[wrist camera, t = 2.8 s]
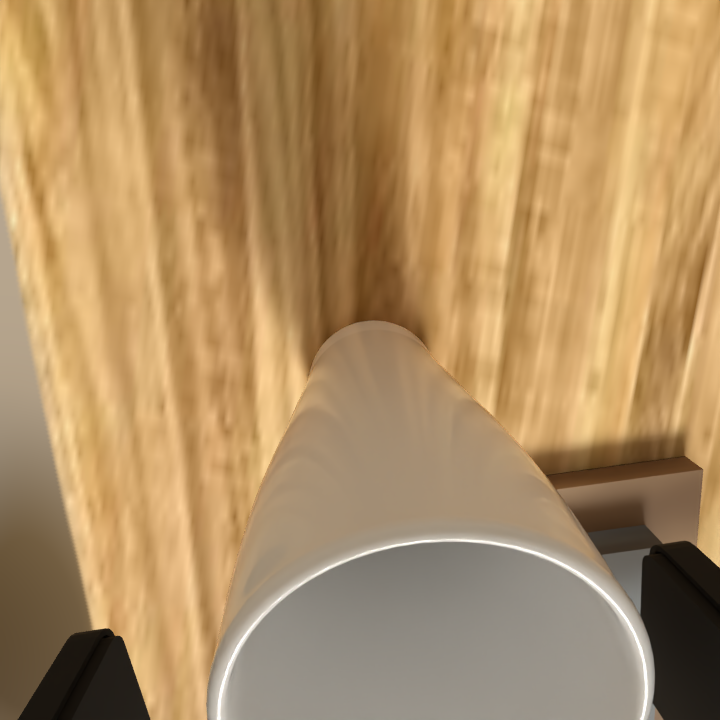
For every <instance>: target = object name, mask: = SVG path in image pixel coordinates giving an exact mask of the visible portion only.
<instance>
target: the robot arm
mask: <svg viewBox="0 0 720 720" xmlns="http://www.w3.org/2000/svg"><path fill="white" fill-rule="evenodd" d="M640 616H641V618H642V620H643V622H644V625H645V628H646V630H647V633H648V635H649V639H650V643H651V647H652V651H653V656H654V666H655V690H654V696H653V704H654V706H655V708H656V709H657V711H658V712H659V714H660V715H661V717H662V718H663V720H720V568H719V567H718V566H717V565H716V564H715V563H713V562H712V561H711V560H710V559H709V558H708V557H707V556H706V555H705V554H704V553H702V552H701V551H700V550H699V549H698V548H697V547H696V546H695V545H693V544H692V543H691V542H688V541H678V542H672V543H665V544H659V545H654V546H652V547H651V549H650V553H649V555H646V556H644V557H643V560H642V580H641V610H640ZM18 720H150V717H149V714H148V711H147V708H146V705H145V702H144V699H143V696H142V693H141V690H140V687H139V684H138V682H137V679H136V676H135V673H134V670H133V667H132V664H131V661H130V658H129V655H128V652H127V649H126V646H125V643H124V641H123V639H122V637H120V636H114V634H113V632H112V631H111V630H110V629H99V630H93V631H86V632H80V633H75V634H73V635H71V636H70V637H69V639H68V640H67V641H66V643H65V644H64V646H63V648H62V649H61V651H60V653H59V654H58V656H57V657H56V659H55V661H54V662H53V664H52V665H51V667H50V669H49V670H48V672H47V673H46V675H45V677H44V678H43V680H42V681H41V683H40V685H39V686H38V688H37V690H36V691H35V693H34V694H33V696H32V698H31V699H30V701H29V702H28V704H27V706H26V707H25V709H24V711H23V712H22V714H21V715H20V717H19V719H18Z"/></svg>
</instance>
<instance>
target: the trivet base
mask: <svg viewBox="0 0 720 720" xmlns="http://www.w3.org/2000/svg"><path fill="white" fill-rule="evenodd" d="M546 477H547V478H548V479H549V480H550V482H551V483H552V484H553V486H554V487H555V488H556V490H557V491H558V493H559V494H560V495H561V497H562V498H563V499H564V501H565V502H566V503H567V505H568V506H569V508H570V509H571V510H572V512H573V513H574V515H575V516H576V518H577V519H578V520H579V522H580V523H581V525H582V526H583V528H584V529H585V530H586V532H587V533H588V535H589V536H590V538H591V539H592V541H593V542H594V544H595V545H596V547H597V548H598V550H599V552H600V553H601V555H602V556H603V558H604V559H605V561H606V562H607V564H608V565H609V567H610V569H611V570H612V572H613V573H614V575H615V576H616V578H617V580H618V581H619V583H620V584H621V586H622V587H623V589H624V590H625V592H626V593H627V594H628V596H629V597H630V598H631V600H632V601H633V603H634V605H635V607H636V609H637V610H638V612H639V614H640V610H641V580H642V560H643V557H644V556H646V555H649V553H650V549H651V547H652V546H654V545H659V544H665V543H672V542H678V541H688V542H691V543H692V544H693V545H695V546H696V547H697V536H698V524H699V513H700V501H701V489H702V477H703V469H702V468H700V467H699V466H698V465H696V464H695V463H694V462H692V461H691V460H690V459H688V458H687V457H677V458H670V459H663V460H655V461H648V462H641V463H634V464H626V465H619V466H612V467H604V468H597V469H590V470H583V471H575V472H568V473H561V474H553V475H546ZM648 720H663V718H662V717H661V715H660V714H659V712H658V711H657V709H656V708H655V706H654V704H653V703H652V708H651V711H650V715H649V718H648Z"/></svg>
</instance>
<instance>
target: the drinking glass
mask: <svg viewBox="0 0 720 720" xmlns="http://www.w3.org/2000/svg"><path fill="white" fill-rule="evenodd" d="M654 690H655V666H654V656H653V651H652V647H651V643H650V639H649V635H648V633H647V630H646V628H645V625H644V622H643V620H642V618H641V616H640V614H639V612H638V610H637V609H636V607H635V605H634V603H633V601H632V600H631V598H630V597H629V596H628V594H627V593H626V592H625V590H624V589H623V587H622V586H621V584H620V583H619V581H618V580H617V578H616V576H615V575H614V573H613V572H612V570H611V569H610V567H609V565H608V564H607V562H606V561H605V559H604V558H603V556H602V555H601V553H600V552H599V550H598V548H597V547H596V545H595V544H594V542H593V541H592V539H591V538H590V536H589V535H588V533H587V532H586V530H585V529H584V528H583V526H582V525H581V523H580V522H579V520H578V519H577V518H576V516H575V515H574V513H573V512H572V510H571V509H570V508H569V506H568V505H567V503H566V502H565V501H564V499H563V498H562V497H561V495H560V494H559V493H558V491H557V490H556V488H555V487H554V486H553V484H552V483H551V482H550V480H549V479H548V478H547V477H546V475H545V474H544V473H543V471H542V470H541V469H540V468H539V466H538V465H537V464H536V463H535V462H534V460H533V459H532V458H531V457H530V456H529V454H528V453H527V452H526V451H525V450H524V449H523V448H522V446H521V445H520V444H519V443H518V442H517V441H516V440H515V439H514V438H513V437H512V436H511V434H510V433H509V432H508V431H507V430H506V429H505V428H504V427H503V426H502V425H501V424H500V423H499V422H498V421H497V420H496V419H495V418H494V417H493V416H492V415H491V414H490V413H489V412H488V411H487V410H486V409H485V408H484V407H483V406H482V405H481V404H480V403H479V402H478V401H477V400H476V399H475V398H474V397H473V396H472V395H471V394H470V393H469V392H468V391H467V390H466V389H465V388H464V387H463V386H461V385H460V384H459V383H458V382H457V381H456V380H455V379H454V378H453V377H452V376H451V375H450V374H449V373H448V372H447V371H446V370H445V369H444V368H443V367H442V366H441V365H440V364H439V363H438V361H437V360H436V359H435V358H434V357H433V356H432V355H431V353H430V352H429V350H428V349H427V347H426V346H425V345H424V343H423V342H422V341H421V340H420V339H419V338H418V337H417V336H416V335H414V334H413V333H412V332H410V331H409V330H407V329H405V328H404V327H401V326H399V325H397V324H394V323H391V322H386V321H379V320H370V321H362V322H357V323H353V324H351V325H348V326H346V327H344V328H342V329H340V330H339V331H337V332H336V333H334V334H333V335H332V336H330V337H329V338H328V339H327V340H326V341H325V342H324V344H323V345H322V346H321V347H320V349H319V350H318V352H317V354H316V355H315V358H314V360H313V362H312V365H311V369H310V373H309V378H308V380H307V383H306V385H305V387H304V390H303V392H302V394H301V397H300V399H299V401H298V403H297V405H296V408H295V410H294V412H293V414H292V416H291V419H290V421H289V423H288V425H287V427H286V429H285V432H284V434H283V436H282V438H281V440H280V442H279V444H278V447H277V449H276V451H275V453H274V455H273V458H272V460H271V462H270V464H269V466H268V469H267V471H266V473H265V476H264V478H263V480H262V483H261V485H260V488H259V490H258V493H257V496H256V498H255V501H254V504H253V507H252V510H251V513H250V516H249V519H248V522H247V525H246V528H245V531H244V535H243V538H242V541H241V544H240V548H239V552H238V555H237V559H236V562H235V566H234V570H233V574H232V578H231V582H230V586H229V590H228V595H227V599H226V603H225V608H224V613H223V617H222V622H221V627H220V631H219V636H218V641H217V646H216V650H215V655H214V658H213V662H212V665H211V670H210V675H209V680H208V687H207V702H206V706H207V720H648V718H649V715H650V711H651V708H652V703H653V696H654Z"/></svg>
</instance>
